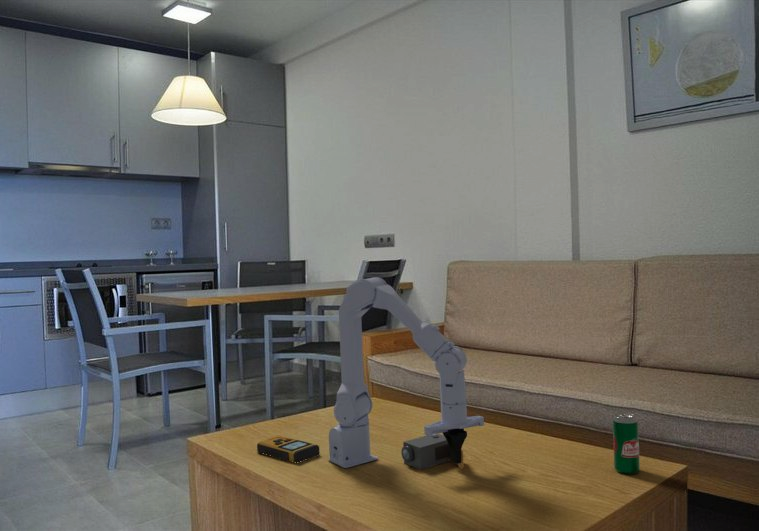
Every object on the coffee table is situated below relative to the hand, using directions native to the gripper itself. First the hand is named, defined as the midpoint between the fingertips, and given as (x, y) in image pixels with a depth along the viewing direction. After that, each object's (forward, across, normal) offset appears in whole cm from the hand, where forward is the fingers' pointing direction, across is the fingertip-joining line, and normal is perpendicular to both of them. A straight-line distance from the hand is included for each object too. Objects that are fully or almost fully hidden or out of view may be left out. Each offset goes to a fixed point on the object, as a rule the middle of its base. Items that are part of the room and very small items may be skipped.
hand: (456, 462), depth 139 cm
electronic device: (+2, -30, +32) cm, 44 cm away
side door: (+1, +2, +3) cm, 4 cm away
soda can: (+2, +30, -20) cm, 37 cm away
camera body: (+2, -3, +8) cm, 9 cm away
